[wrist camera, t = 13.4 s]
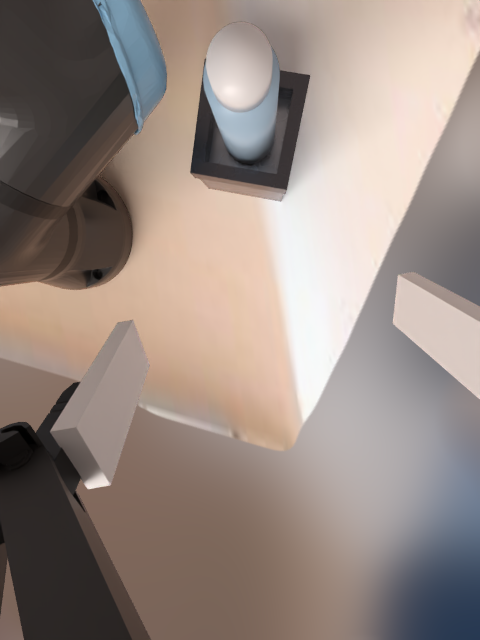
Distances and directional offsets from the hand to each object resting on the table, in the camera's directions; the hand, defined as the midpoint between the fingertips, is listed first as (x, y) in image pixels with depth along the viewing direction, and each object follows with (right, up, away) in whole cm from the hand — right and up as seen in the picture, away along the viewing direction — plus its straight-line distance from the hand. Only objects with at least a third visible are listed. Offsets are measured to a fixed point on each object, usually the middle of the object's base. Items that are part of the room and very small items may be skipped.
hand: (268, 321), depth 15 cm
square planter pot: (0, +20, +20) cm, 28 cm away
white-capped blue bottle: (-1, +18, +14) cm, 23 cm away
